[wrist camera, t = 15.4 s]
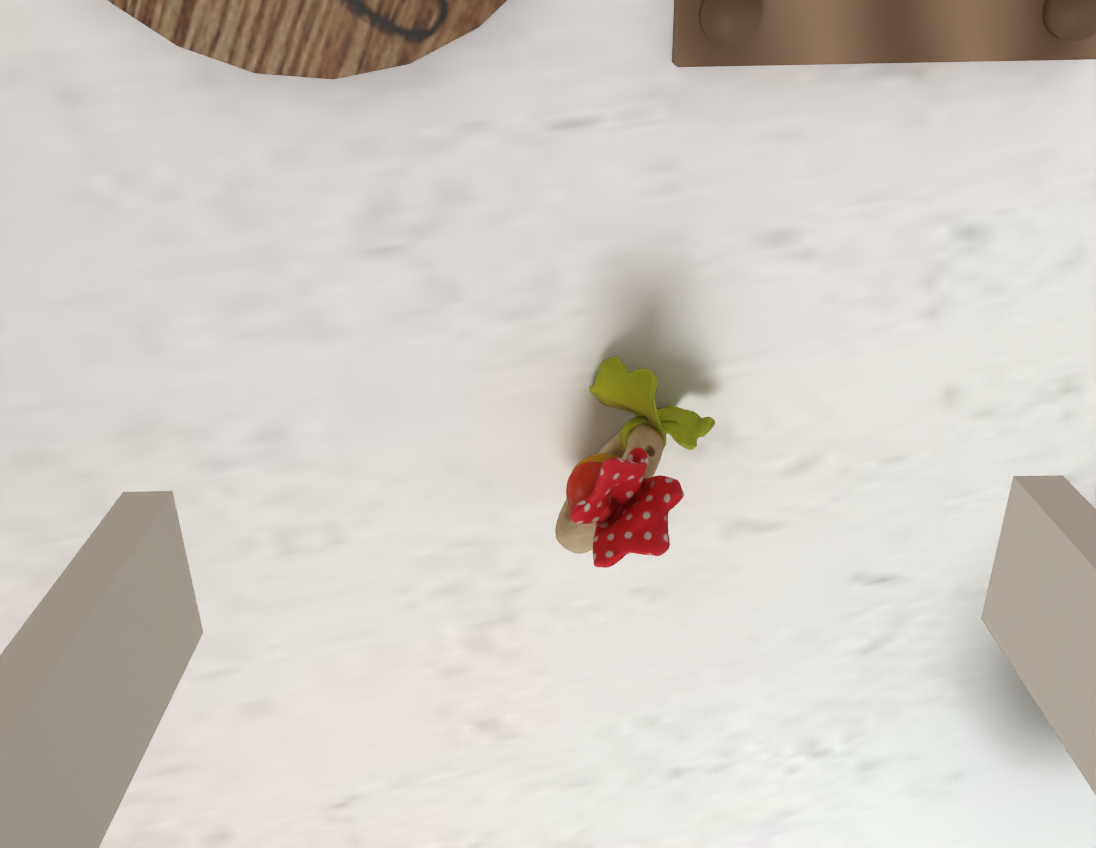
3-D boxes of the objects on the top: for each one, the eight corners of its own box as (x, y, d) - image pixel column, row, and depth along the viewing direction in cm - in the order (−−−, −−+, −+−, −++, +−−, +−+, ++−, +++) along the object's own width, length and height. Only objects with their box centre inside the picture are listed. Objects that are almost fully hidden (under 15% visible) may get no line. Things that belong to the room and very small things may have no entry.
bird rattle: (643, 474, 54) (742, 381, 47) (612, 649, 46) (724, 568, 40) (545, 422, 52) (633, 320, 46) (496, 595, 45) (593, 501, 38)
